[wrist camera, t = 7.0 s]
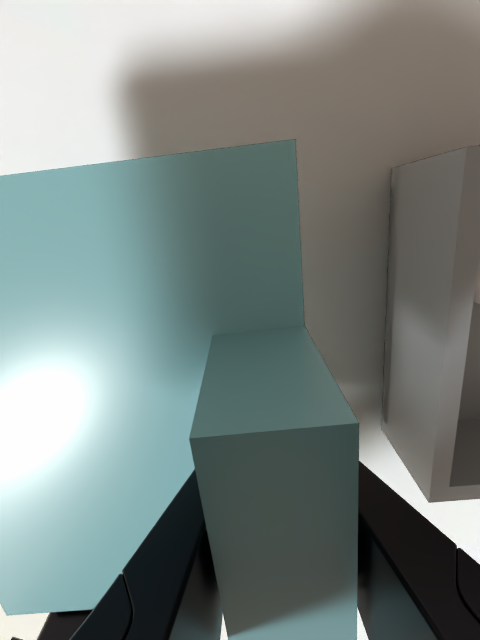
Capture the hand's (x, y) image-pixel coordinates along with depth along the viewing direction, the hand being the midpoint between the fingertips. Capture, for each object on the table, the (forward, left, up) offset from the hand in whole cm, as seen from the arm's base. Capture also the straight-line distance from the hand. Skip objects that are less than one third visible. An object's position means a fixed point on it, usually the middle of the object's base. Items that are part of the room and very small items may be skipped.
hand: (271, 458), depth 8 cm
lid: (0, +5, -3) cm, 5 cm away
